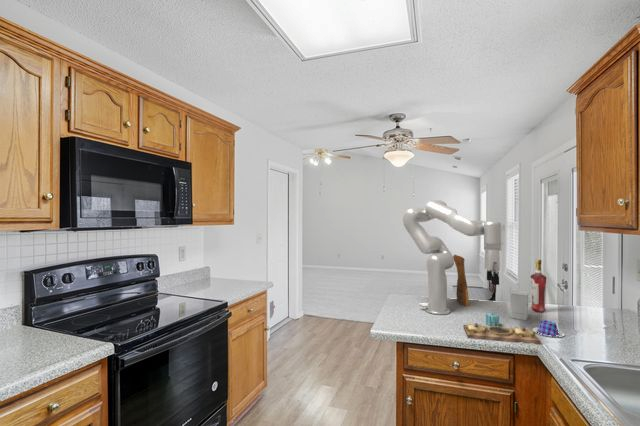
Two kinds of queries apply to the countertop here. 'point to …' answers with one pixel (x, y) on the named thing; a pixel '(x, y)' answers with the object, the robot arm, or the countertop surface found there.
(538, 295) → the liquor
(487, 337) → the gear board
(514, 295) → the supplement box
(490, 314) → the loose gear
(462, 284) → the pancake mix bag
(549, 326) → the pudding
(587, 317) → the countertop surface
